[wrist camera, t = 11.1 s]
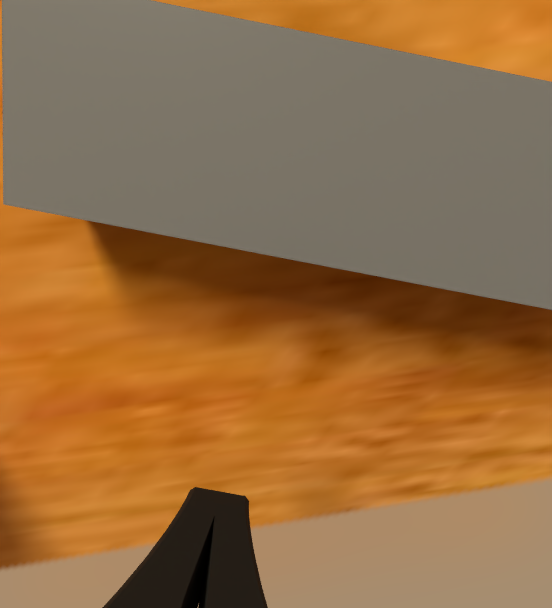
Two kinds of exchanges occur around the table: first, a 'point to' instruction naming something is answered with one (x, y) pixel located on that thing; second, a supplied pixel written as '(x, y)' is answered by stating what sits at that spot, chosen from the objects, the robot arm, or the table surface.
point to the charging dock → (280, 143)
